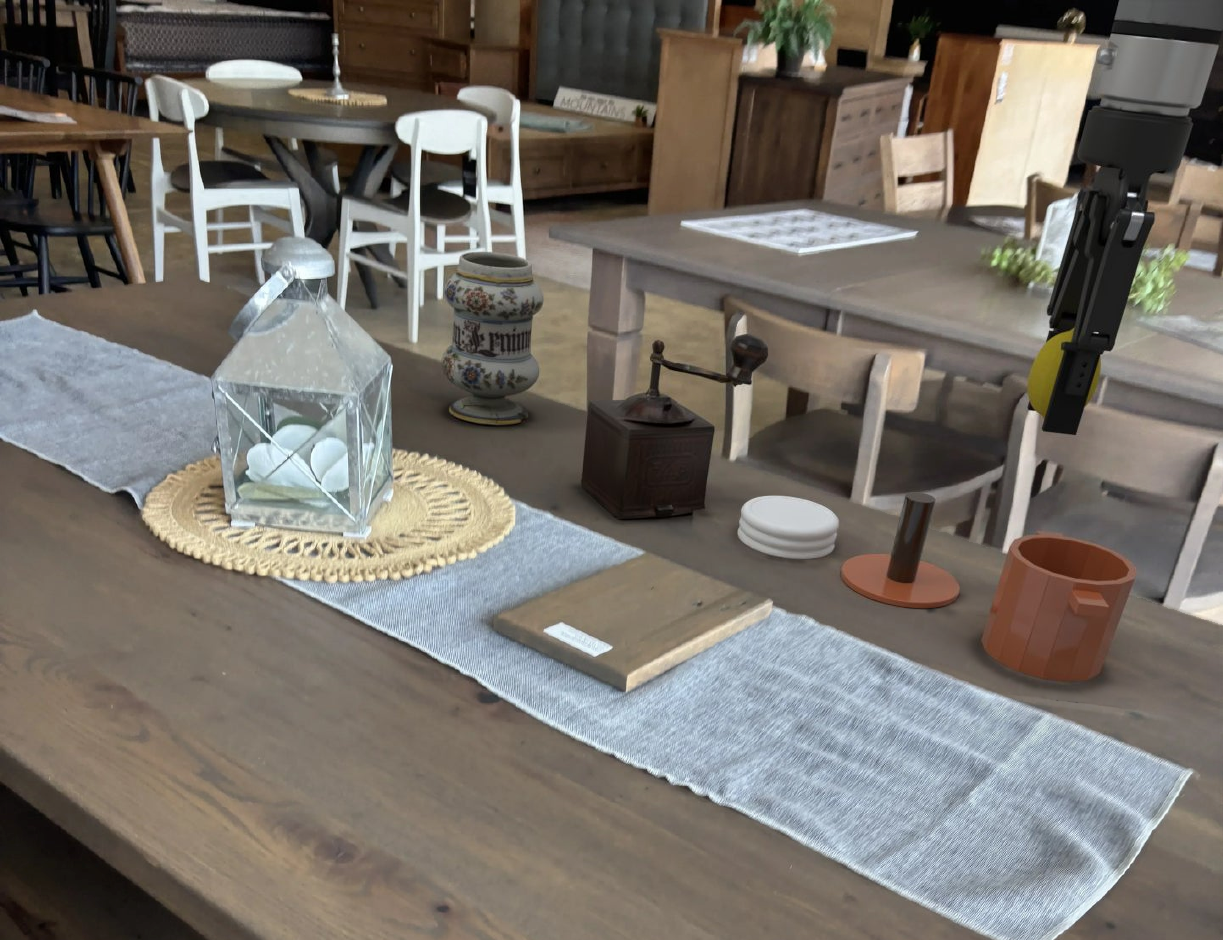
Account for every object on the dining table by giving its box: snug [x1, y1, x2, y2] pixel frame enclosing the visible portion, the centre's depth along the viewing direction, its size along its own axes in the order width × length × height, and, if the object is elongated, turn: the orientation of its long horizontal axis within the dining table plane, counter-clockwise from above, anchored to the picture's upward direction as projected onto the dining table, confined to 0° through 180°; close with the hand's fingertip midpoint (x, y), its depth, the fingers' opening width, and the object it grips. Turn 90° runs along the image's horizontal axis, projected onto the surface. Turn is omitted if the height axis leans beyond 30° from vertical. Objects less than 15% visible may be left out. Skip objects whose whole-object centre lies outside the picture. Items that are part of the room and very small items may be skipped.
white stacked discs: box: [737, 495, 840, 560], centre depth 122 cm, size 10×10×4 cm
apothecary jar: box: [440, 251, 545, 426], centre depth 145 cm, size 12×12×18 cm
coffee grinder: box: [580, 333, 769, 520], centre depth 126 cm, size 16×11×18 cm
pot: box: [980, 530, 1138, 683], centre depth 104 cm, size 10×16×10 cm, turn 175°
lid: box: [840, 491, 961, 609], centre depth 114 cm, size 11×11×9 cm
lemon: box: [1027, 328, 1102, 420], centre depth 100 cm, size 6×6×8 cm
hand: (1050, 420), depth 102 cm, fingers closed on lemon, 5 cm apart
